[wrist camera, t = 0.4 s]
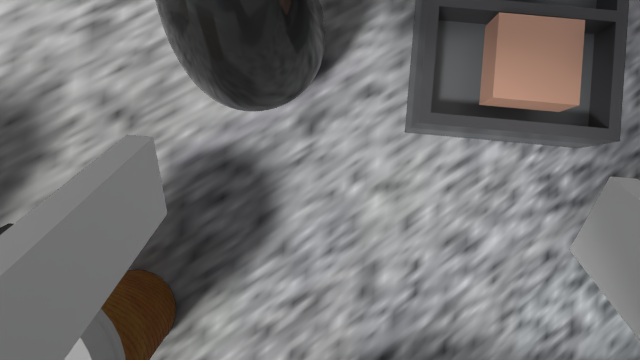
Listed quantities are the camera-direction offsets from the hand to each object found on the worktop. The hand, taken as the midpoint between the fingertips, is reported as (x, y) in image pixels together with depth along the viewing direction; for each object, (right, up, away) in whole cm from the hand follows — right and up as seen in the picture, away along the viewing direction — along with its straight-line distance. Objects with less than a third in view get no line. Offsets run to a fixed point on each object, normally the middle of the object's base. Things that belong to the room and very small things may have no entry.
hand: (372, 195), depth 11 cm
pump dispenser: (-6, +10, +19) cm, 22 cm away
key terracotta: (+13, +8, +15) cm, 21 cm away
